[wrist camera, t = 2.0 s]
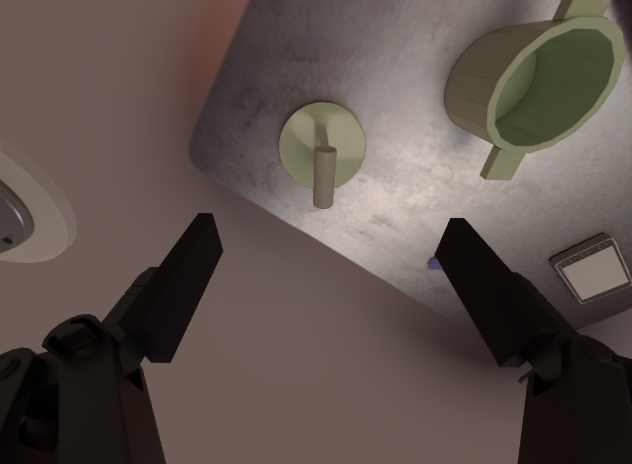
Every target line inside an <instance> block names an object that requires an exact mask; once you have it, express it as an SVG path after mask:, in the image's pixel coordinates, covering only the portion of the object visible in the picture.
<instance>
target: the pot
mask: <svg viewBox="0 0 632 464" xmlns="http://www.w3.org/2000/svg"><path fill="white" fill-rule="evenodd" d="M610 2H611V0H561V2H560V4H559V6H558V8H557V11H556V13H555V15H554V17H553V19H552V20H547V21H540V22H533V23H525V24H518V25H511V26H506V27H503V28H499V29H497V30H494V31H491V32H489V33H488V34H486V35H484V36H482V37H481V38H479V39H478V40H477V41H476V42H474V43H473V44H472V45H471V46H470V47H469V48H468V49H467V50H466V51H465V52H464V53H463V54H462V56H461V57H460V58H459V60H458V61H457V63H456V64H455V66H454V68H453V69H452V72H451V74H450V76H449V79H448V81H447V85H446V89H445V98H444V102H445V109H446V112H447V114H448V117H449V118H450V120H451V121H452V122H453V123H454V124H455V125H457V126H459V127H460V128H462V129H464V130H466V131H468V132H470V133H472V134H473V135H475V136H477V137H479V138H481V139H483V140H485V141H487V142H489V143H491V144H493V145H495V146H493V147H492V150H491V152H490V154H489V156H488V158H487V160H486V162H485V165H484V167H483V169H482V171H481V173H480V176H481V177H482V178H484V179H485V180H511V179H512V177H513V175H514V174H515V172H516V170H517V168H518V166H519V165H520V163H521V161H522V159H523V157H524V156H525V154H526V153H532V152H535V151H538V150H541V149H544V148H547V147H550V146H553V145H555V144H556V143H558V142H559V141H561V140H563V139H564V138H566V137H568V136H569V135H571V134H572V133H574V132H576V131H577V130H578V129H579V128H580V127H581V126H582V125H583V124H584V123H585V122H586V121H587V120H588V119H589V118H591V117H592V116H593V115H594V114H595V113H596V112H597V111H598V109H600V107H601V106H602V104H603V103H604V101H605V100H606V98H607V97H608V95H609V94H610V92H611V91H612V89H613V88H614V86H615V85H616V83H617V81H618V77H619V74H620V71H621V68H622V65H623V62H624V59H625V55H626V54H625V46H624V39H623V32H622V30H620V29H619V28H618V27H617V26H616V25H615V24H614V23H613V22H611V21H610V20H609V19H608V18H607V17H602V16H603V14H604V12H605V11H606V9H607V7H608V5H609V3H610Z"/></svg>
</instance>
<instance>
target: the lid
mask: <svg viewBox="0 0 632 464" xmlns="http://www.w3.org/2000/svg"><path fill="white" fill-rule="evenodd" d="M365 149H366V141H365V135H364V132H363V129H362V127H361V125H360V123H359V121H358V120H357V118H356V117H355V116H354V115H353V114H352V113H351V112H350V111H349V110H347V109H346V108H344V107H343V106H340V105H338V104H335V103H331V102H315V103H311V104H308V105H305V106H303V107H302V108H300V109H298V110H297V111H296V112H294V113H293V114H292V115H291V116H290V118H289V119H288V120H287V122H286V123H285V125H284V127H283V130H282V132H281V135H280V140H279V154H280V158H281V162H282V164H283V166H284V168H285V170H286V171H287V173H288V174H289V175H290V176H291V177H292V178H293V179H294V180H295V181H296V182H298V183H299V184H301V185H303V186H305V187H307V188H310V189H313V204H314V206H315V207H317V208H320V209H327V208H330V207H332V205H333V196H334V188H336V187H338V186H341V185H343V184H344V183H346V182H347V181H349V180H350V179H351V178H352V177H353V176H354V175H355V174H356V173H357V171H358V170H359V168H360V166H361V164H362V162H363V159H364V156H365Z"/></svg>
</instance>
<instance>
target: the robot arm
mask: <svg viewBox="0 0 632 464" xmlns="http://www.w3.org/2000/svg"><path fill="white" fill-rule="evenodd" d="M33 232H34V222H33V218H32V216H31V214H30V212H29V210H28V208H27V207H26V205H25V204H24V203H23V201H22V200H21V199H20V198H19V197H18V196H17V194H16V193H15V192H14V191H13V190H12V189H10V188H9V187H8V186H7V185H6V184H5V183H4V182H2V181H1V180H0V253H3V252H6V251H8V250H11V249H13V248H15V247H17V246H19V245H20V244H22V243H23V242H25V241H26V240H28V239H29V238H30V237H31V236H32V234H33ZM222 253H223V248H222V245H221V241H220V238H219V234H218V231H217V227H216V224H215V220H214V217H213V214H212V213H198V215H197V216H196V217H195V219H194V220H193V221H192V223H191V224H190V225H189V227H188V228H187V229H186V231H185V232H184V233H183V235H182V236H181V238H180V239H179V240H178V242H177V243H176V244H175V246H174V247H173V248H172V250H171V251H170V252H169V254H168V255H167V256H166V258H165V259H164V261H163V262H162V263H161V265H160V266H159V267H150V268H148V269H147V270H146V271H144V272H143V273H142V274H140V275H139V276H138V277H137V278H136V280H135V281H134V282H133V283H132V285H131V287H129V289H128V290H127V291H126V292H125V295H123V296H122V297H121V299H120V300H119V301H118V302H117V304H116V305H115V306H114V307H113V309H112V310H111V311H110V312H109V314H108V315H107V316H106V317H105V319H104V320H103V321H102V322H100V321H99V320H98V319H97V318H96V317H95V316H93V315H90V314H84V315H78V316H75V317H72V318H70V319H68V320H66V321H64V322H62V323H60V324H59V325H58V326H56V327H55V328H54V329H53V330H51V331H50V333H49V334H48V335H47V336H46V337H45V339H44V341H43V344H42V347H43V348H45V349H46V350H47V351H48V352H44V353H40V354H37V353H35V352H34V351H32V350H31V349H29V348H18V349H13V350H10V351H8V352H6V353H3V354H1V355H0V464H166V461H165V457H164V453H163V450H162V446H161V441H160V437H159V433H158V429H157V425H156V421H155V417H154V413H153V409H152V405H151V401H150V397H149V393H148V389H147V385H146V381H145V377H144V373H143V369H142V367H141V366H140V363H141V362H142V360H143V358H144V356H146V357H147V359H148V360H149V361H150V362H151V363H171V361H172V359H173V357H174V354H175V352H176V350H177V348H178V346H179V344H180V342H181V340H182V338H183V335H184V333H185V331H186V329H187V327H188V325H189V323H190V321H191V318H192V316H193V314H194V312H195V310H196V308H197V306H198V304H199V301H200V299H201V297H202V295H203V293H204V291H205V289H206V287H207V285H208V282H209V280H210V278H211V276H212V274H213V272H214V270H215V268H216V265H217V263H218V261H219V259H220V257H221V255H222ZM435 257H436V258H437V260H438V262H439V263H440V265H441V267H442V269H443V270H444V272H445V274H446V275H447V277H448V279H449V281H450V282H451V284H452V286H453V288H454V289H455V291H456V293H457V294H458V296H459V298H460V300H461V301H462V303H463V305H464V306H465V308H466V310H467V312H468V313H469V315H470V317H471V319H472V320H473V322H474V324H475V325H476V327H477V329H478V331H479V332H480V334H481V336H482V338H483V339H484V341H485V343H486V344H487V346H488V348H489V350H490V351H491V353H492V355H493V356H494V358H495V360H496V362H497V363H498V365H499V367H520V366H521V365H522V364H523V363H525V362H526V361H527V360H528V361H529V363H530V364H531V366H532V367H533V368H532V369H531V370H530V371H528V372H527V373H526V374H524V375H523V376H522V377H521V378H520V379H519V381H518V382H519V383H521V384H522V383H523V382H524V381H526V380H527V379H528V383H527V386H526V387H527V391H526V399H525V407H524V415H523V424H522V432H521V440H520V448H519V457H518V464H632V359H629V358H626V357H622V356H619V355H617V354H616V353H615V352H614V351H612V350H611V349H610V348H609V347H607V346H606V345H605V344H603V343H601V342H599V341H598V340H596V339H594V338H591V337H588V336H586V335H580V334H579V333H578V332H577V331H576V330H575V329H574V328H573V327H572V326H571V325H570V324H569V323H568V322H567V321H566V320H565V318H564V317H563V316H562V315H561V314H560V313H559V312H558V311H557V310H556V309H555V308H554V307H553V306H552V305H551V303H550V302H549V301H547V299H546V298H545V297H544V296H543V295H542V294H541V293H539V291H538V289H537V288H536V287H535V286H534V285H533V284H532V283H531V282H530V281H529V280H527V279H526V278H525V277H523V276H522V275H520V274H519V273H517V272H512V271H511V270H510V269H509V268H508V267H507V266H506V265H505V264H504V262H503V261H502V260H501V259H500V258H499V257H498V256H497V255H496V253H495V252H494V251H493V250H492V249H491V248H490V247H489V246H488V244H487V243H486V242H485V241H484V240H483V239H482V238H481V237H480V235H479V234H478V233H477V232H476V231H475V230H474V229H473V228H472V226H471V225H470V224H469V223H468V222H467V221H466V220H465V218H450V220H449V222H448V225H447V227H446V229H445V232H444V234H443V236H442V238H441V241H440V243H439V245H438V248H437V250H436V252H435Z"/></svg>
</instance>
